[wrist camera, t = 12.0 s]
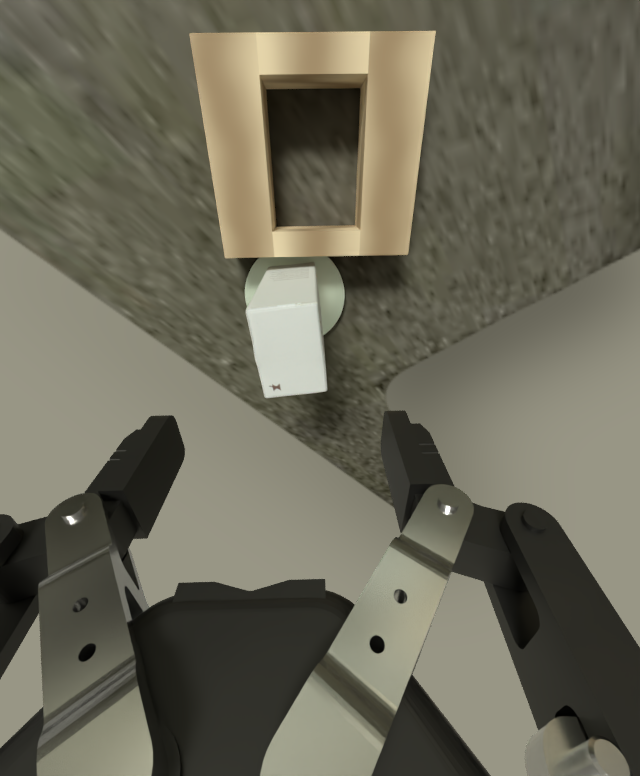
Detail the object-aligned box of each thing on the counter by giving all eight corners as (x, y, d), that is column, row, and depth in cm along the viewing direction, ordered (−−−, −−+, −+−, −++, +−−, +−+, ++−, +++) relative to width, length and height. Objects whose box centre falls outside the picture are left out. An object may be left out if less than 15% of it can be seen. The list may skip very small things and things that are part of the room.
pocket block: (418, 52, 21) (435, 31, 19) (397, 247, 28) (407, 254, 25) (206, 54, 21) (189, 33, 18) (234, 250, 28) (225, 258, 25)
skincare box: (323, 325, 31) (328, 395, 21) (278, 330, 31) (263, 401, 21) (316, 258, 28) (319, 301, 17) (266, 264, 28) (241, 310, 18)
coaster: (345, 241, 28) (346, 242, 27) (342, 339, 32) (343, 342, 32) (239, 243, 27) (238, 244, 27) (252, 341, 32) (251, 344, 32)
